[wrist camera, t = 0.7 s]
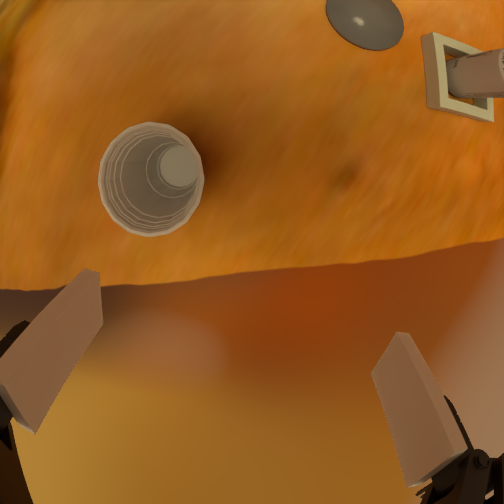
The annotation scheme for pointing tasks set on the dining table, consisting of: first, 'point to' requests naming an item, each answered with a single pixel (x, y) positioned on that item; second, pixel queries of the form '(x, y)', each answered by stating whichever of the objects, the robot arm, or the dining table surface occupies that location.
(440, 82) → the frame
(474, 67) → the energy drink can
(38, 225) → the dining table surface
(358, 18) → the coaster
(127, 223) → the plastic cup
